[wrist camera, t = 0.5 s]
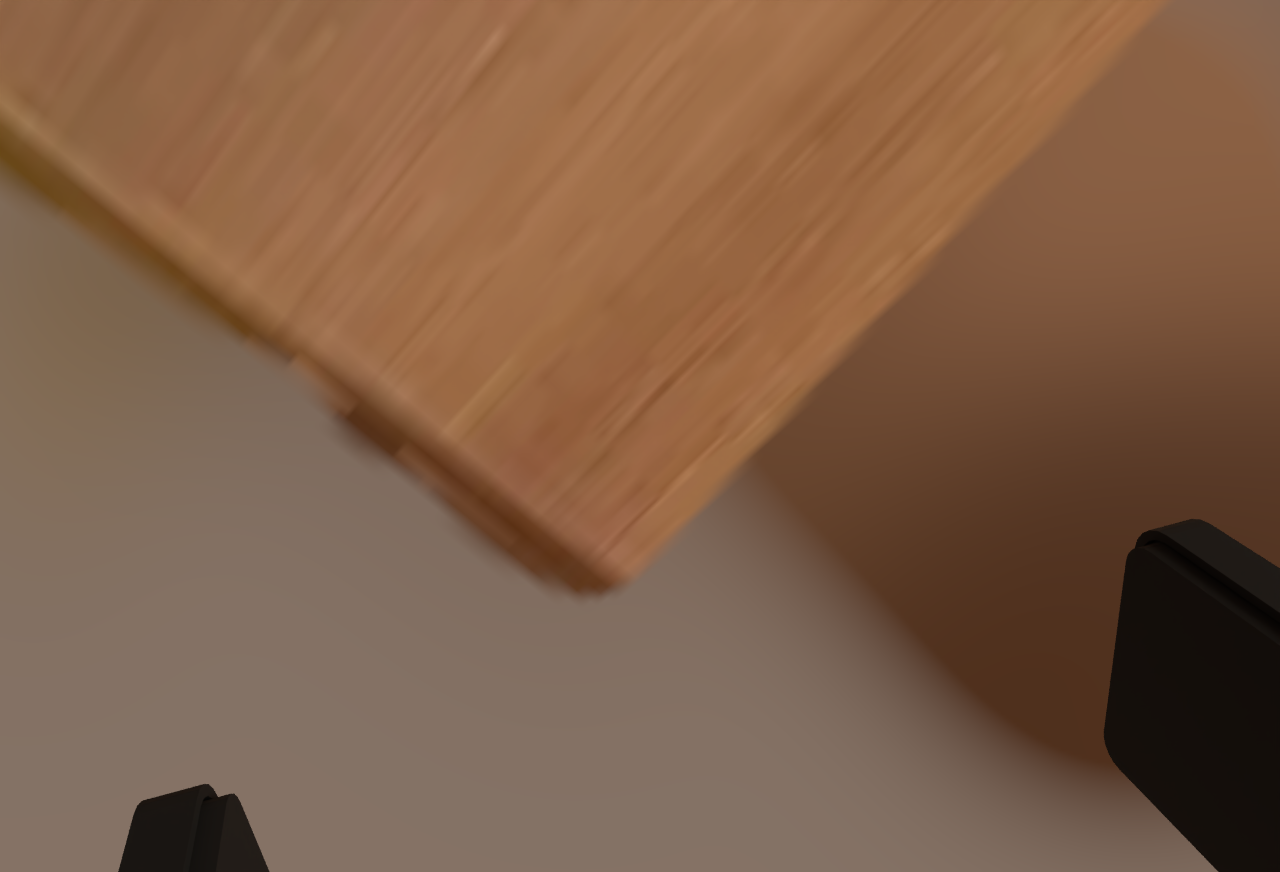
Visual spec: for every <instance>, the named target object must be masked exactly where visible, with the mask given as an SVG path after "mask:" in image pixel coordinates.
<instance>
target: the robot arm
mask: <svg viewBox="0 0 1280 872" xmlns="http://www.w3.org/2000/svg"><path fill="white" fill-rule="evenodd" d="M1104 740H1105V745H1106V747H1107V750H1108V753H1109V755H1110V757H1111V758H1112V760H1113V762H1114V763H1115V764H1116V766H1117V767H1118V768H1119V769H1120V770H1121V771H1122V772H1123V773H1124V774H1125V775H1126V777H1128V779H1129V780H1130V781H1131V782H1132V783H1133V784H1134V785H1135V786H1136V787H1137V788H1138V789H1139V790H1140V791H1141V792H1142V793H1143V794H1144V795H1145V796H1146V797H1147V798H1148V799H1149V800H1150V801H1151V802H1152V803H1153V804H1154V805H1155V806H1156V808H1157V809H1158V810H1159V811H1160V812H1161V813H1162V814H1163V815H1164V816H1165V817H1166V818H1167V819H1168V820H1169V821H1170V822H1171V823H1172V824H1173V825H1174V826H1175V827H1176V828H1177V829H1178V830H1179V831H1180V832H1181V834H1182V835H1183V836H1184V837H1185V838H1187V840H1188V841H1190V843H1191V844H1192V845H1193V846H1194V847H1195V848H1196V849H1197V850H1198V851H1199V852H1200V853H1201V854H1202V855H1203V856H1204V857H1205V858H1206V859H1207V860H1208V861H1209V862H1210V864H1211V865H1213V867H1214V868H1215V869H1216V870H1217V871H1218V872H1280V568H1278V567H1277V566H1275V565H1274V564H1272V563H1271V562H1269V561H1267V560H1266V559H1264V558H1263V557H1261V556H1260V555H1258V554H1256V553H1255V552H1253V551H1252V550H1250V549H1249V548H1247V547H1245V546H1244V545H1242V544H1241V543H1239V542H1238V541H1236V540H1235V539H1233V538H1231V537H1229V536H1228V535H1227V534H1225V533H1224V532H1222V531H1220V530H1219V529H1217V528H1216V527H1214V526H1213V525H1211V524H1209V523H1207V522H1205V521H1202V520H1199V519H1190V520H1186V521H1182V522H1179V523H1175V524H1171V525H1168V526H1164V527H1160V528H1156V529H1153V530H1149V531H1147V532H1144V533H1142V534H1141V536H1140V537H1139V538H1138V539H1137V542H1136V546H1135V549H1133V550H1131V551H1130V553H1129V554H1128V556H1127V560H1126V566H1125V573H1124V581H1123V590H1122V596H1121V604H1120V612H1119V620H1118V627H1117V635H1116V643H1115V650H1114V658H1113V666H1112V673H1111V681H1110V689H1109V697H1108V704H1107V712H1106V720H1105V727H1104ZM118 872H269V870H268V867H267V865H266V862H265V860H264V858H263V855H262V853H261V850H260V848H259V846H258V843H257V841H256V839H255V836H254V834H253V831H252V829H251V827H250V824H249V822H248V819H247V817H246V815H245V812H244V810H243V807H242V805H241V803H240V801H239V799H238V797H237V796H236V795H235V794H228V795H224V796H221V797H218V796H217V794H216V793H215V791H214V789H213V788H212V787H211V786H210V785H209V784H203V785H199V786H195V787H192V788H188V789H184V790H180V791H177V792H173V793H169V794H165V795H162V796H159V797H155V798H151V799H147V800H143V801H141V803H139V805H137V808H136V810H135V813H134V815H133V819H132V823H131V826H130V830H129V834H128V838H127V841H126V845H125V849H124V853H123V856H122V860H121V864H120V868H119V871H118Z"/></svg>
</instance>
